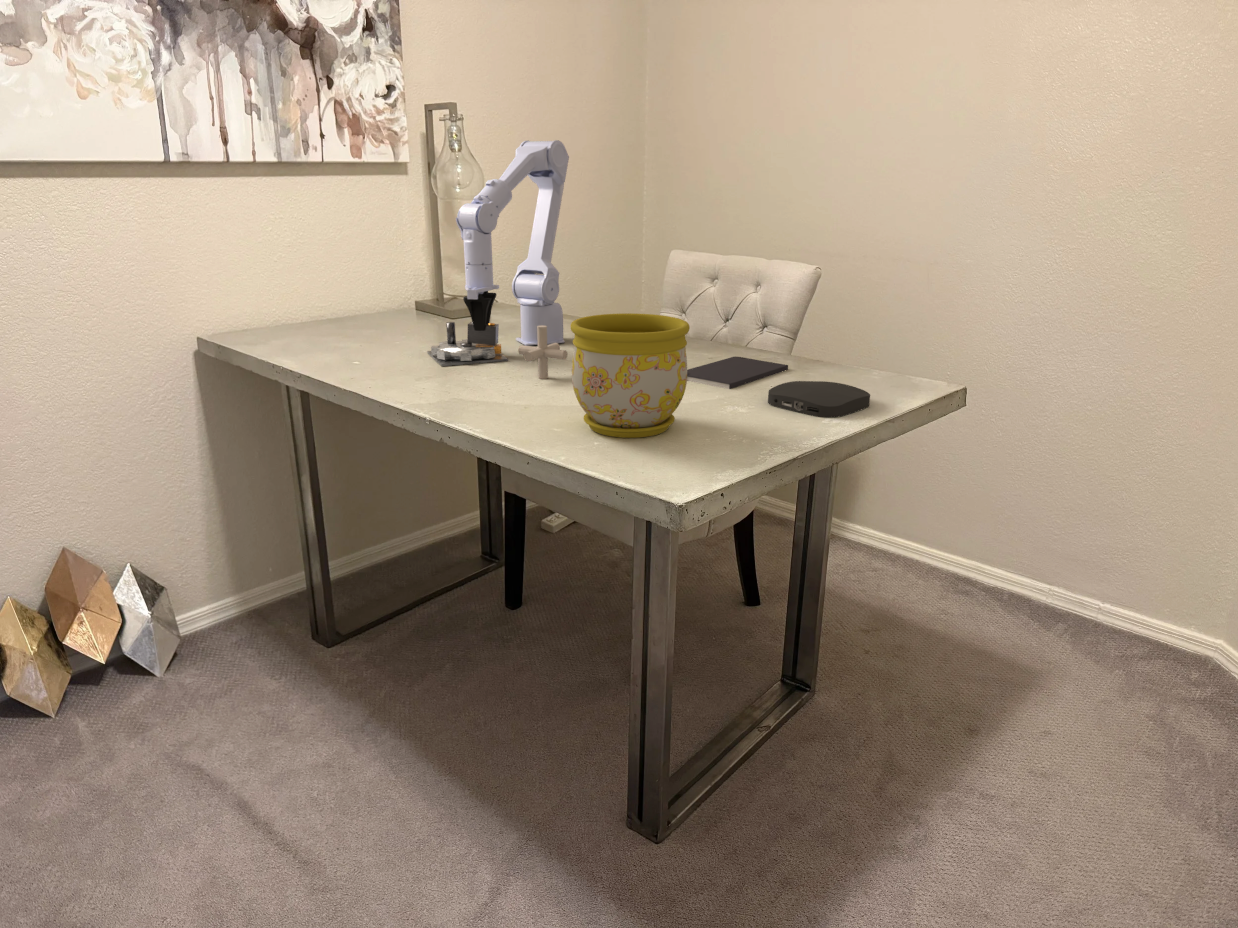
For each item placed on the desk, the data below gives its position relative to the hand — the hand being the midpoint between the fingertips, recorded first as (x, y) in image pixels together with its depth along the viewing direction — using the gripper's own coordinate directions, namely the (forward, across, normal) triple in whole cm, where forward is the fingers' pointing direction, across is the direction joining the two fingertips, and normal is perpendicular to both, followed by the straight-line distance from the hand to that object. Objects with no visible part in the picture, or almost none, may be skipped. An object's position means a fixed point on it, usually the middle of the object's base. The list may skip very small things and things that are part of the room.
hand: (481, 329), depth 181 cm
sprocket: (+6, -2, +3) cm, 7 cm away
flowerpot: (+6, -50, -34) cm, 61 cm away
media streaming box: (+6, -34, -66) cm, 74 cm away
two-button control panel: (+3, 0, 0) cm, 3 cm away
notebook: (+6, -12, -53) cm, 54 cm away
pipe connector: (+6, -19, -16) cm, 25 cm away
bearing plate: (+6, -2, +3) cm, 7 cm away
